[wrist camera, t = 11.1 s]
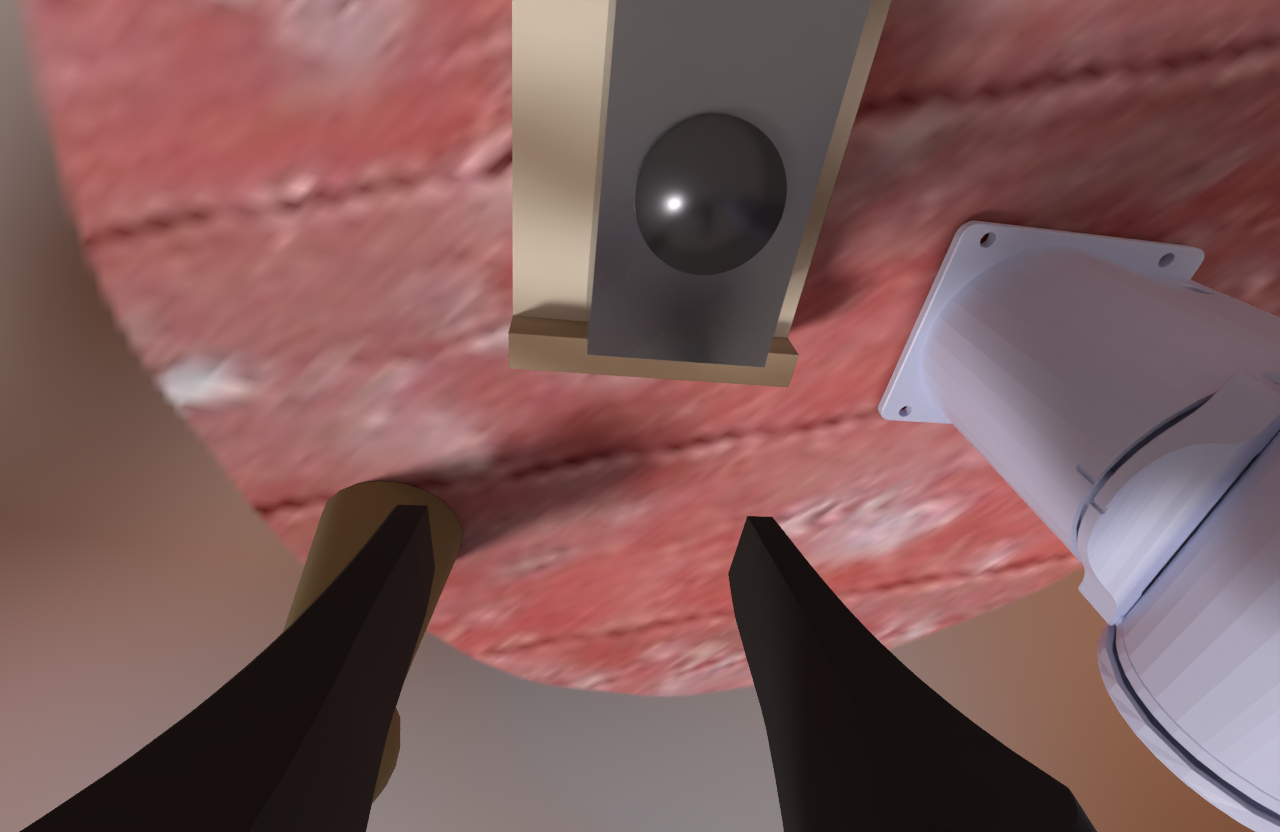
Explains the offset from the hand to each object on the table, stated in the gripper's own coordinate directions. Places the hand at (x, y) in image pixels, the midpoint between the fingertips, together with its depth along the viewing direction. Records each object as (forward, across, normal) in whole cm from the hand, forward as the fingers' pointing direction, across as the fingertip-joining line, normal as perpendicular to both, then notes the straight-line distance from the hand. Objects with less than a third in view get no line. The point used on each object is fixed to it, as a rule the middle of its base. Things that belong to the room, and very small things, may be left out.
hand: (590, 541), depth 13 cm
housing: (+7, -2, -7) cm, 10 cm away
